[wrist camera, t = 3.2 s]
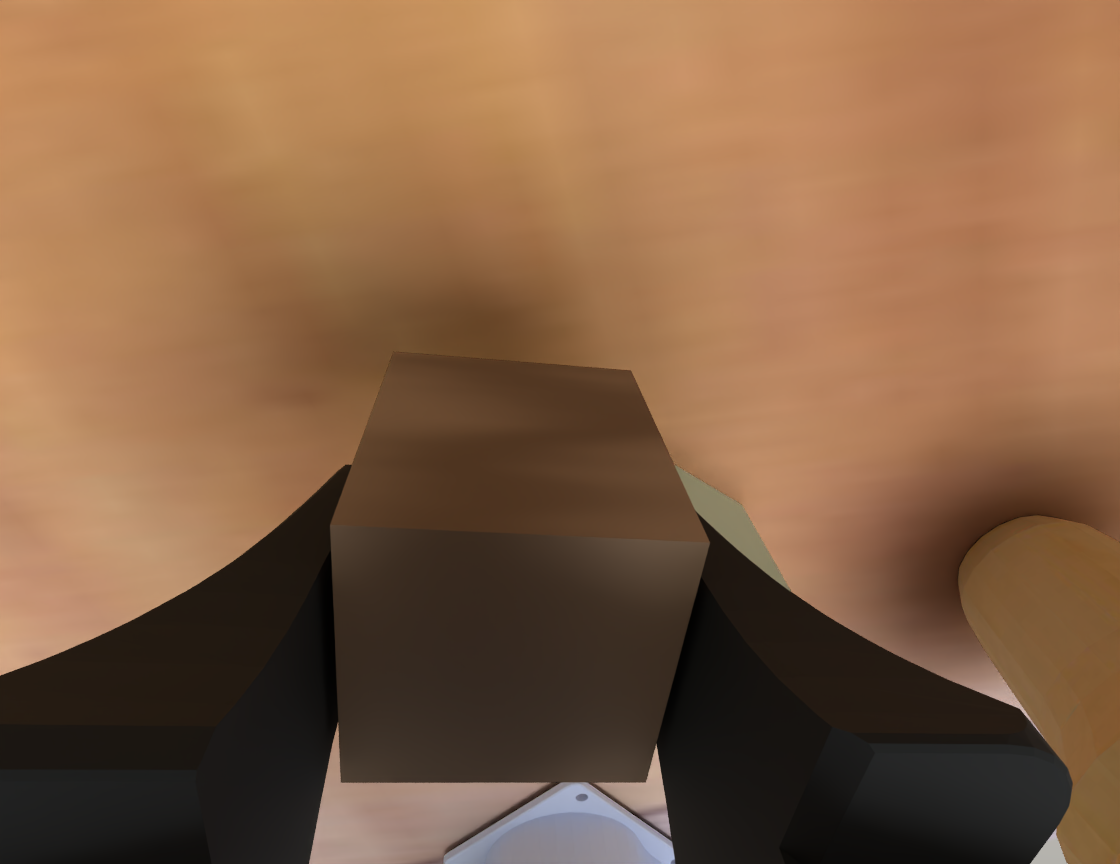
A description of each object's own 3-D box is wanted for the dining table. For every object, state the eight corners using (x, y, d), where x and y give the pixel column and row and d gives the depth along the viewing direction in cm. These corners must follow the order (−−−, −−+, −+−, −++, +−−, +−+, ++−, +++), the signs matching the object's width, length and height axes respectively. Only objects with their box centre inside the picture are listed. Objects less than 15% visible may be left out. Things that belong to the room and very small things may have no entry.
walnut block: (630, 370, 13) (709, 542, 8) (597, 556, 15) (645, 782, 10) (393, 351, 13) (329, 525, 8) (392, 547, 15) (340, 781, 10)
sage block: (741, 504, 23) (806, 619, 18) (660, 591, 25) (699, 719, 20) (638, 442, 22) (680, 550, 17) (558, 540, 23) (575, 663, 18)
